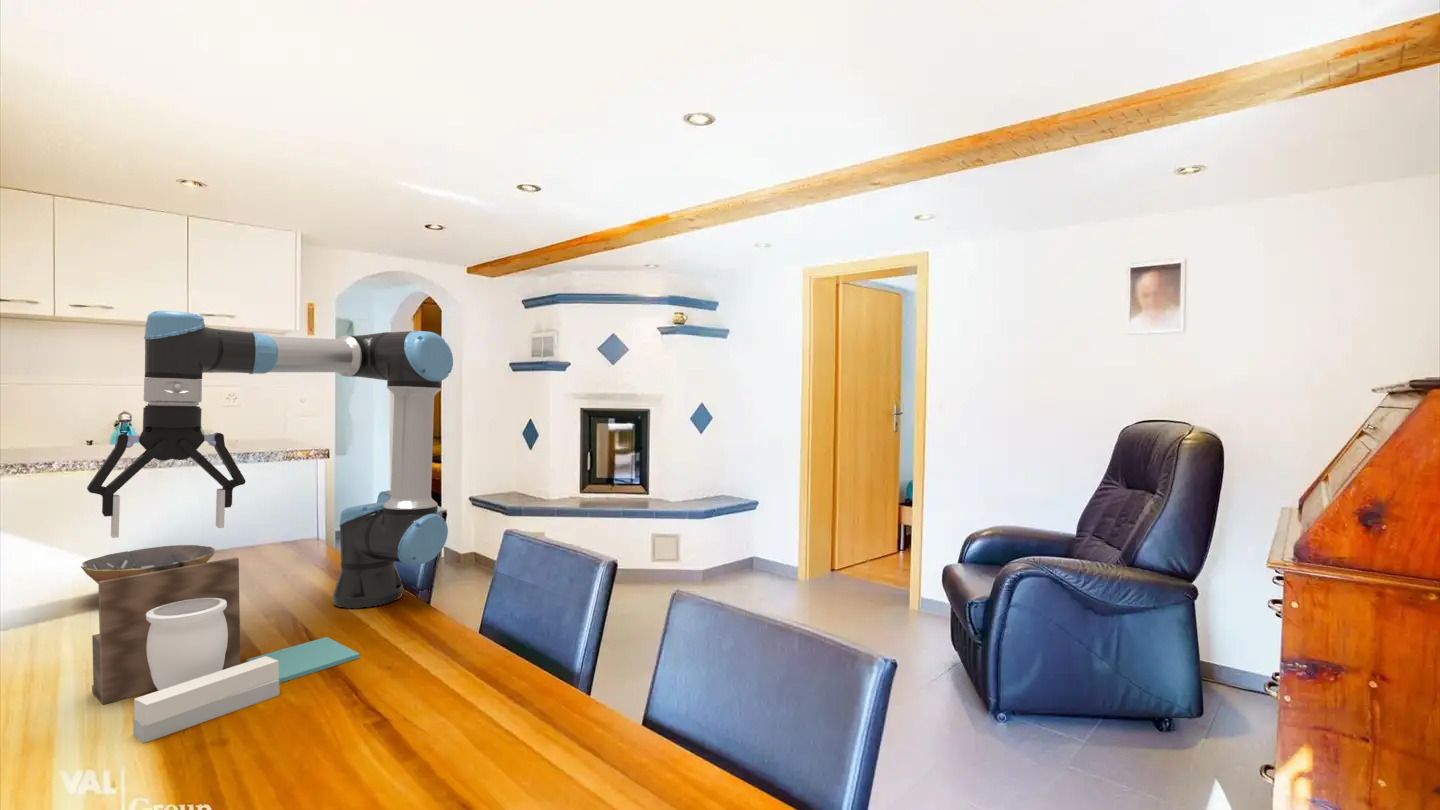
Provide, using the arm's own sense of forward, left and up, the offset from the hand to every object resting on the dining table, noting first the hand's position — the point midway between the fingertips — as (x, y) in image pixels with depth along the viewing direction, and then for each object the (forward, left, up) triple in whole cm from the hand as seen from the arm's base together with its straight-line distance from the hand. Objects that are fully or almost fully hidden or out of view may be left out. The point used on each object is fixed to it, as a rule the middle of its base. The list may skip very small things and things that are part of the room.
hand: (169, 531), depth 111 cm
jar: (-2, +3, -28) cm, 28 cm away
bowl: (-13, -68, -28) cm, 75 cm away
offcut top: (-2, +13, -25) cm, 28 cm away
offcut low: (-2, +13, -28) cm, 31 cm away
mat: (-19, +3, -28) cm, 33 cm away
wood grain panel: (-2, -8, -28) cm, 29 cm away
